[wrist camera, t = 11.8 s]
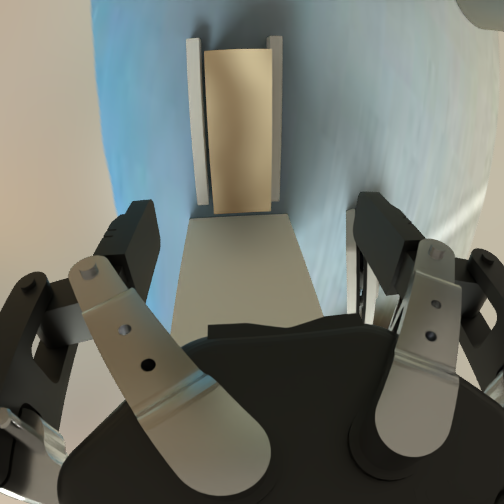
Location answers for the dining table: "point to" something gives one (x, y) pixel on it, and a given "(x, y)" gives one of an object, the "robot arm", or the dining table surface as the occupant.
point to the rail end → (239, 128)
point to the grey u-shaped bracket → (239, 241)
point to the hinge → (359, 277)
